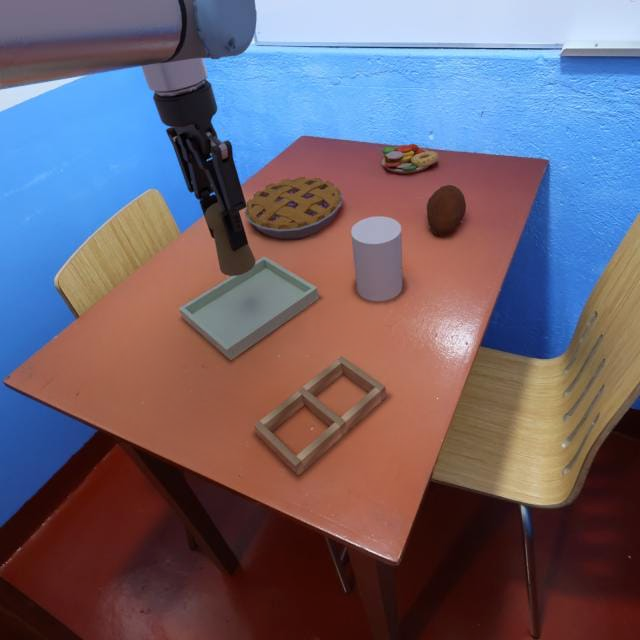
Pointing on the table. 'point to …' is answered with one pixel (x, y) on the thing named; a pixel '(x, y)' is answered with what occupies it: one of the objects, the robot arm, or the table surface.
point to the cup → (377, 257)
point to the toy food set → (407, 159)
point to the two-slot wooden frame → (320, 413)
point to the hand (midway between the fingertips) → (229, 240)
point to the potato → (445, 209)
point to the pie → (294, 207)
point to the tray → (248, 306)
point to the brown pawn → (228, 246)
